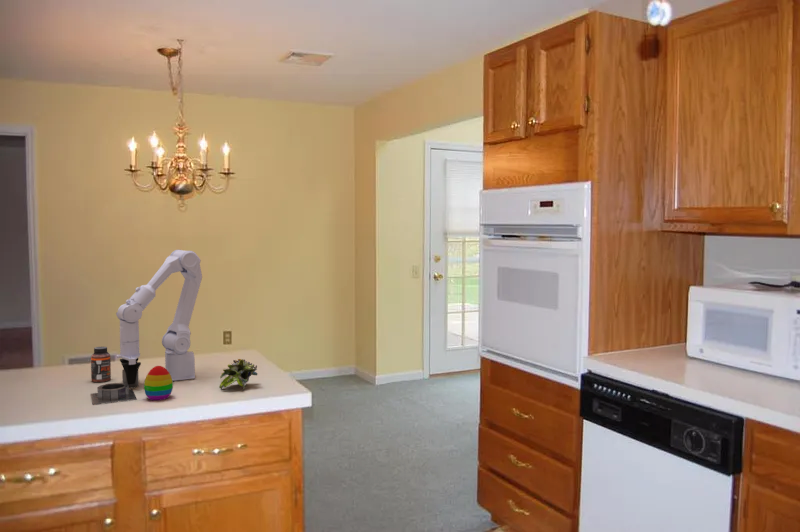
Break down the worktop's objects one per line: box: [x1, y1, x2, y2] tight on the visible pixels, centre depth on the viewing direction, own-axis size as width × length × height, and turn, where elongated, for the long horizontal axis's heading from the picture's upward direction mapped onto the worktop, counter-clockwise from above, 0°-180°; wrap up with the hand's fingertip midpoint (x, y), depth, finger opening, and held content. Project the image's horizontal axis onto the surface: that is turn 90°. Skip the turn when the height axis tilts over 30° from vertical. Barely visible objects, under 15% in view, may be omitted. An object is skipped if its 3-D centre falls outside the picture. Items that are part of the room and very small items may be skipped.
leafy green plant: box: [218, 358, 259, 391], centre depth 203 cm, size 11×11×12 cm
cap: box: [121, 368, 140, 389], centre depth 204 cm, size 5×5×6 cm
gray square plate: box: [90, 382, 138, 406], centre depth 192 cm, size 12×12×3 cm
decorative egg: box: [143, 365, 174, 401], centre depth 191 cm, size 8×8×10 cm
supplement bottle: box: [90, 346, 112, 383], centre depth 211 cm, size 6×6×11 cm
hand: (130, 381), depth 205 cm, fingers closed on cap, 5 cm apart
